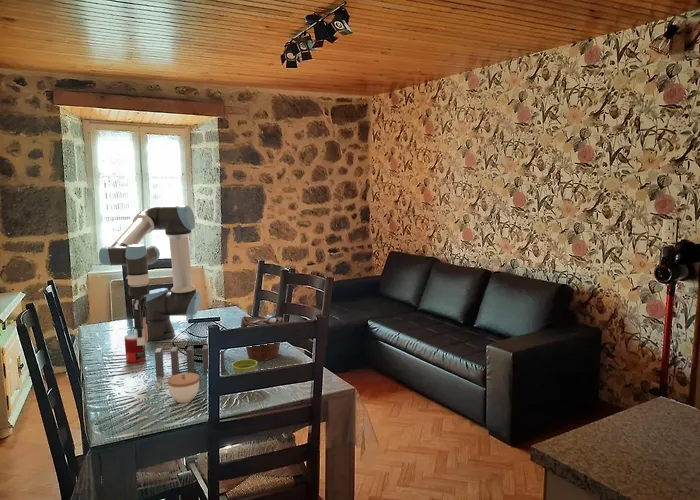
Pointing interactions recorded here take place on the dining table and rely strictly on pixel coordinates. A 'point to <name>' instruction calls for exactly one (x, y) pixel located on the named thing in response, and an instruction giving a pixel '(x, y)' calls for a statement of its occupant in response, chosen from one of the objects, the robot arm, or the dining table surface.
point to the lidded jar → (183, 386)
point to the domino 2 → (159, 362)
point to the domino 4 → (190, 359)
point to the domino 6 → (222, 361)
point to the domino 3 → (174, 361)
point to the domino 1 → (144, 329)
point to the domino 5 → (205, 358)
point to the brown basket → (263, 350)
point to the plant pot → (244, 365)
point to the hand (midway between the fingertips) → (142, 342)
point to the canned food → (134, 350)
